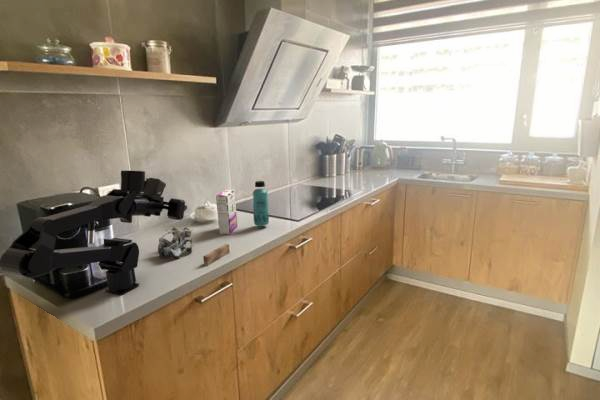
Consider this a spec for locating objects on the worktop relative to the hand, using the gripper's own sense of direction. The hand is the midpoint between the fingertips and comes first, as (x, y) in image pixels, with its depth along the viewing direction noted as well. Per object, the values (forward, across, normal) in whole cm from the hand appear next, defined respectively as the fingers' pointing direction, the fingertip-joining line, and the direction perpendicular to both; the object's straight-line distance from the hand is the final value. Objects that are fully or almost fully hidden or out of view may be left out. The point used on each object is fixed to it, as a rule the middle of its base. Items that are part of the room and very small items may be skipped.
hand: (175, 205), depth 121 cm
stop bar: (+5, -15, +16) cm, 23 cm away
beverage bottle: (+41, -14, +8) cm, 44 cm away
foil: (+7, +2, +18) cm, 19 cm away
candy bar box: (+33, -2, +11) cm, 35 cm away
